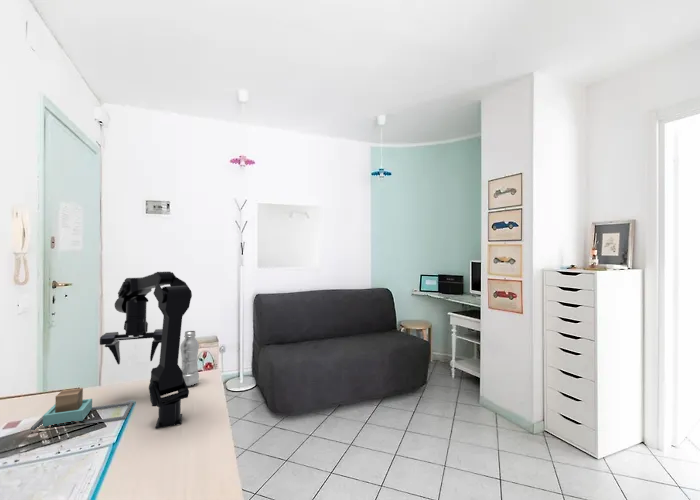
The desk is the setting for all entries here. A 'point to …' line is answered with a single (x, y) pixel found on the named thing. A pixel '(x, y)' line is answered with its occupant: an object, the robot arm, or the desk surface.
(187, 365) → the plastic bottle
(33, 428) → the gray metal rectangular frame
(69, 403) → the walnut block
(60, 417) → the teal square tray
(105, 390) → the desk surface
